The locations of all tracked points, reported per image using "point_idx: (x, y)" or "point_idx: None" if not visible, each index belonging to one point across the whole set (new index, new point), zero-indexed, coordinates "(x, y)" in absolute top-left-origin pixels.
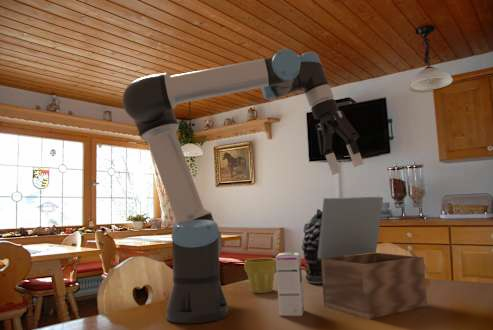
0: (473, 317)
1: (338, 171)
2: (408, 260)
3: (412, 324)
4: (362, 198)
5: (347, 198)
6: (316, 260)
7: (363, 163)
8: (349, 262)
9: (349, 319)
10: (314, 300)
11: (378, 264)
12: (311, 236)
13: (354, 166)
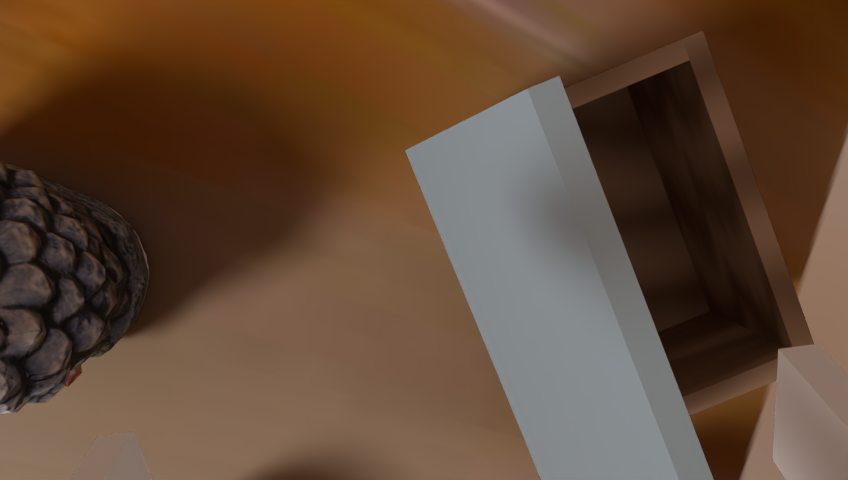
0: (798, 7)
1: (135, 474)
2: (735, 127)
3: (810, 221)
4: (642, 300)
5: (700, 447)
6: (97, 345)
7: (821, 350)
8: (721, 392)
9: None
10: (436, 406)
11: (795, 296)
12: (12, 407)
13: (783, 464)
